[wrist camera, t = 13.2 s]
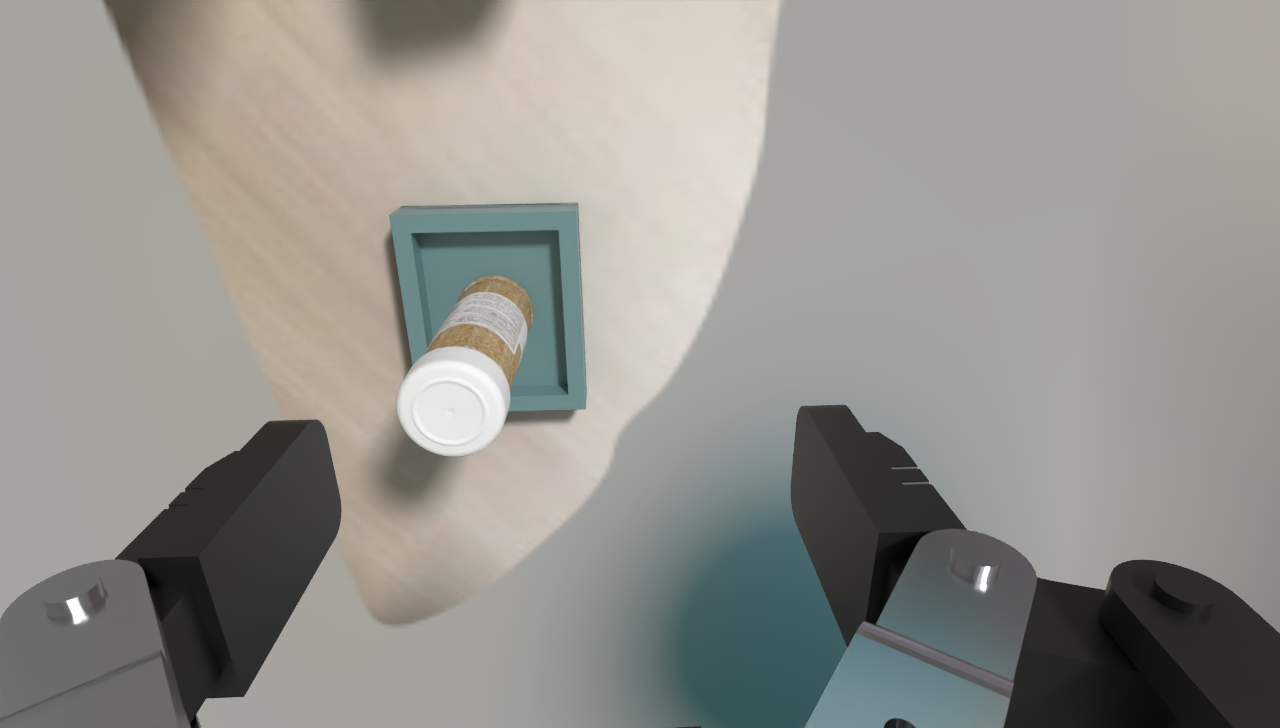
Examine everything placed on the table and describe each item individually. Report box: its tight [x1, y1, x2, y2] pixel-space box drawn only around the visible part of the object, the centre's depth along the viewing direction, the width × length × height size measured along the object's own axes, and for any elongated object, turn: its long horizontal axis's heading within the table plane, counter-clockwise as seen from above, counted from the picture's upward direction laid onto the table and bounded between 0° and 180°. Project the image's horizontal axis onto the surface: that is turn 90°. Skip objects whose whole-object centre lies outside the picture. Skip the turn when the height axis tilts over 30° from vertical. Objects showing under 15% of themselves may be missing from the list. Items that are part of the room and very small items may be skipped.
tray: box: [389, 203, 587, 412], centre depth 41 cm, size 12×10×2 cm
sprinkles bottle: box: [396, 275, 534, 457], centre depth 35 cm, size 5×5×13 cm
